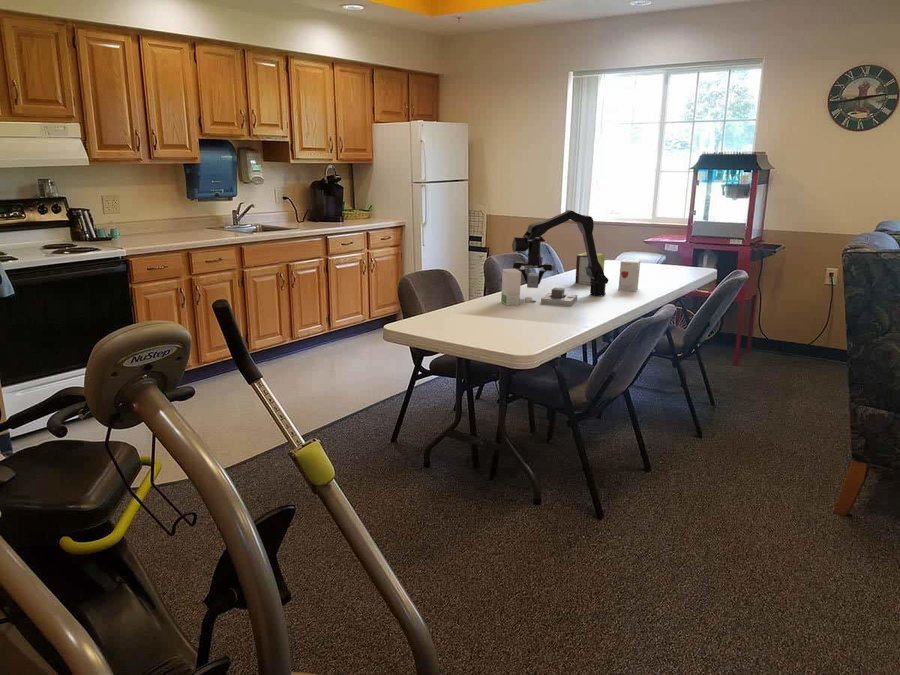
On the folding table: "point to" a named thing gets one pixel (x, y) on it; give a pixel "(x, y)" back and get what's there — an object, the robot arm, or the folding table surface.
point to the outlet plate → (559, 300)
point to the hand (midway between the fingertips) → (532, 283)
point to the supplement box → (629, 275)
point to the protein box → (581, 271)
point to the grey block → (558, 292)
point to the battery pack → (532, 280)
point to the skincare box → (511, 287)
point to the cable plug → (528, 299)
